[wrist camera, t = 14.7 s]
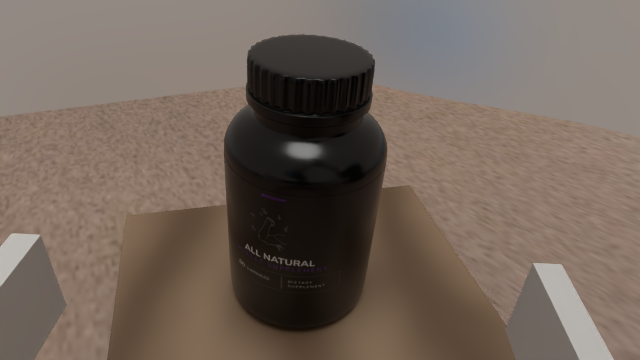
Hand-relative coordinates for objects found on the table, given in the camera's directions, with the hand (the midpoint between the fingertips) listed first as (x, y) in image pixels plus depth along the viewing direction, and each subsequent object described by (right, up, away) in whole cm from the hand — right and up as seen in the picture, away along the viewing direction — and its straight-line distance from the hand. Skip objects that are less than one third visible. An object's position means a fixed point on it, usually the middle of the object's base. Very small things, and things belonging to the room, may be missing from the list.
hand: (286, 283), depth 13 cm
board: (0, -3, +12) cm, 12 cm away
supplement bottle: (0, -2, +11) cm, 12 cm away
